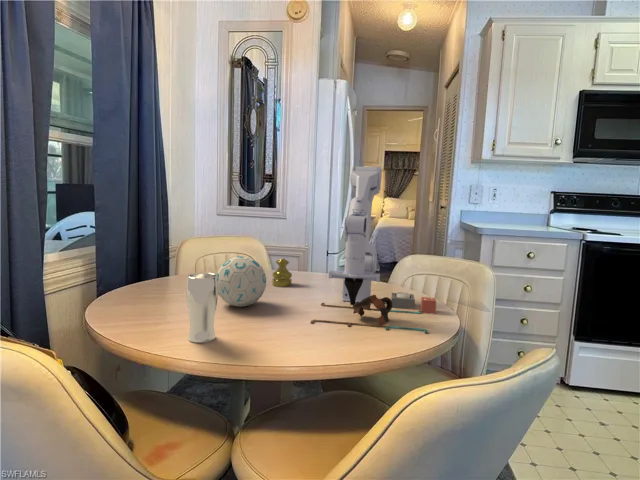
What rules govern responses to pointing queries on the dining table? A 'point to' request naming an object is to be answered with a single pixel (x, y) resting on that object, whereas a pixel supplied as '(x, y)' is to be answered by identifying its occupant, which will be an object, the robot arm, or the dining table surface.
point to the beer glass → (202, 306)
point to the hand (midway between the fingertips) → (352, 304)
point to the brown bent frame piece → (377, 303)
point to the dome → (402, 295)
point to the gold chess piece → (282, 274)
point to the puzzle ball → (241, 281)
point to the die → (428, 305)
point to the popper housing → (403, 301)
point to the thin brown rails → (371, 324)
